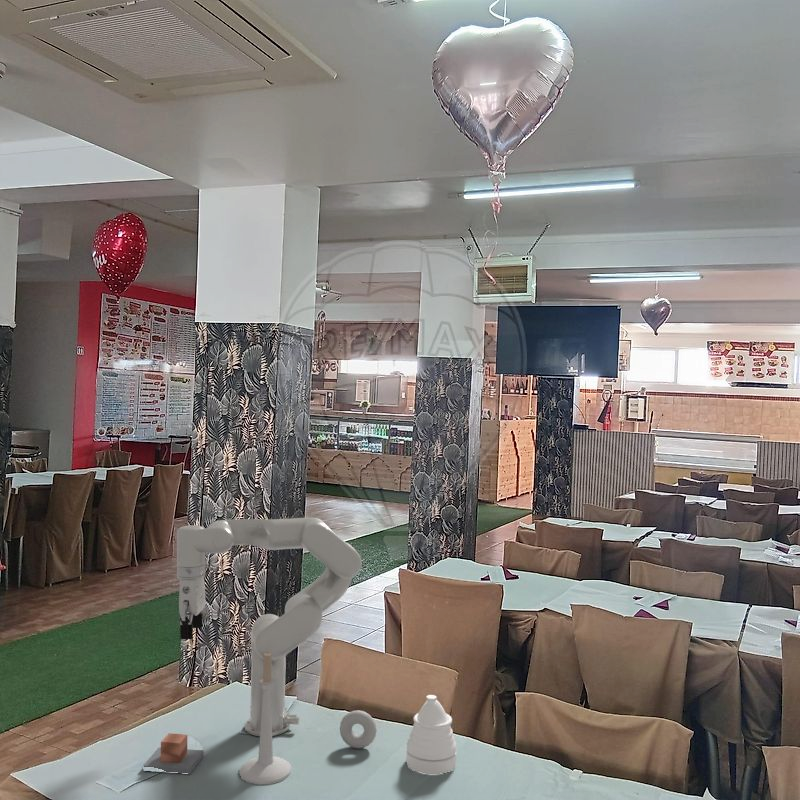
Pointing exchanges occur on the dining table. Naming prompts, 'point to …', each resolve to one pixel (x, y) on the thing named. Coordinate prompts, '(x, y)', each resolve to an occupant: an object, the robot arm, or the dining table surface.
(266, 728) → the candlestick
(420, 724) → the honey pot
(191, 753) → the slate board
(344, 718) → the donut
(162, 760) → the brown cube
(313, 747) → the dining table surface
